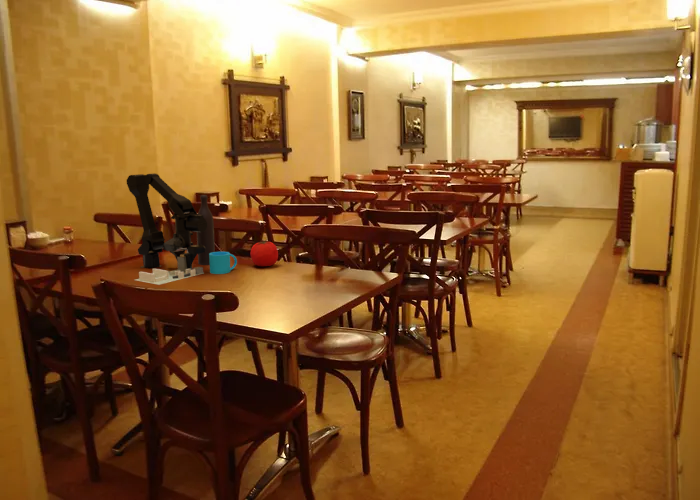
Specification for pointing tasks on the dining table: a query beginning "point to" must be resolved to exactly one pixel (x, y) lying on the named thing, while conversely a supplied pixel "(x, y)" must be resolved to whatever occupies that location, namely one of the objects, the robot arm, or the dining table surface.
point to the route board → (171, 274)
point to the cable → (184, 276)
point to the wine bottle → (206, 233)
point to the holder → (154, 275)
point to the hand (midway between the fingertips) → (184, 268)
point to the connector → (182, 263)
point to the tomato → (264, 253)
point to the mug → (221, 262)
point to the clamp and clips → (192, 272)
